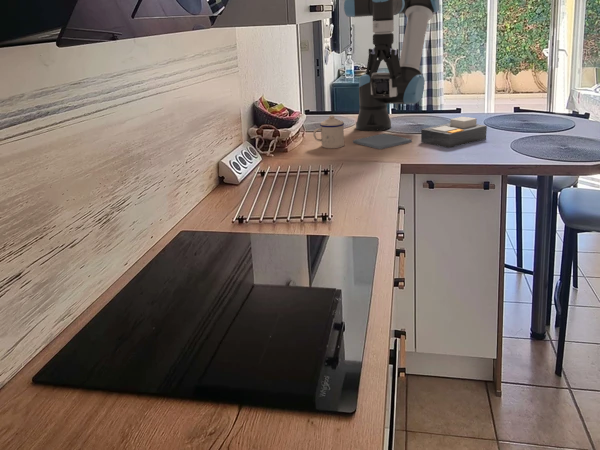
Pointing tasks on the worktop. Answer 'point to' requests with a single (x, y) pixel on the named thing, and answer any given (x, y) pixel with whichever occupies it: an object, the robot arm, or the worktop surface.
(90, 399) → the worktop surface
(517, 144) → the worktop surface
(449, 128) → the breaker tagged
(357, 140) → the pad
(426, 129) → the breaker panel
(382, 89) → the electrical switch
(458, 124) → the block
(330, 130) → the teacup with lid
